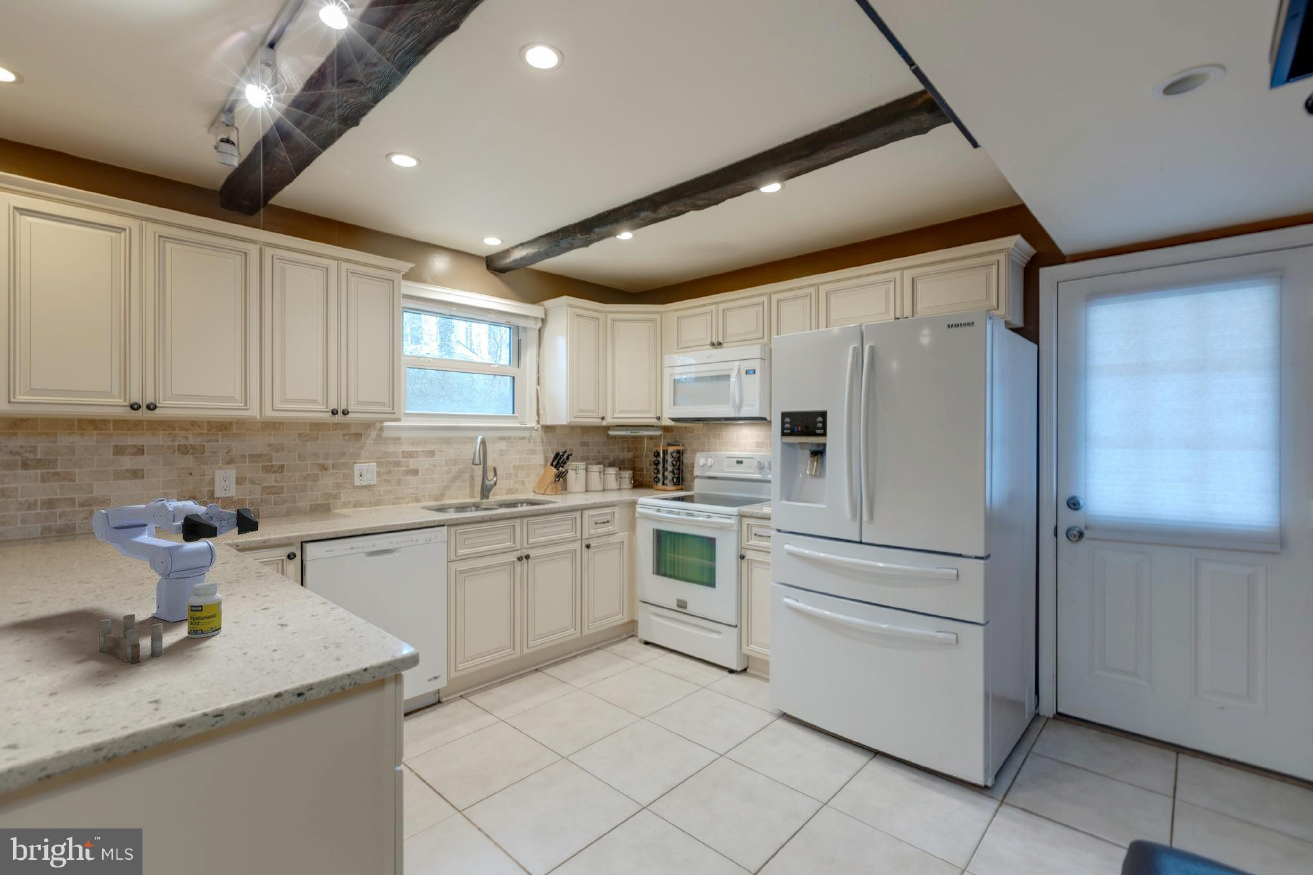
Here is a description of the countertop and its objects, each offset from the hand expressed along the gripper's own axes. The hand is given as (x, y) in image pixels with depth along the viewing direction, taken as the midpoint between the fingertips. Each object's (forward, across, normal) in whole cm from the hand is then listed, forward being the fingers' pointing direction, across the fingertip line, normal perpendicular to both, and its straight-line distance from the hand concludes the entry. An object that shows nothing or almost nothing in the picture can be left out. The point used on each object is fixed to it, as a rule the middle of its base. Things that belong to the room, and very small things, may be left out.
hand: (236, 529), depth 120 cm
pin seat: (-2, -16, +20) cm, 26 cm away
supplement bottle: (-2, -5, +21) cm, 21 cm away
